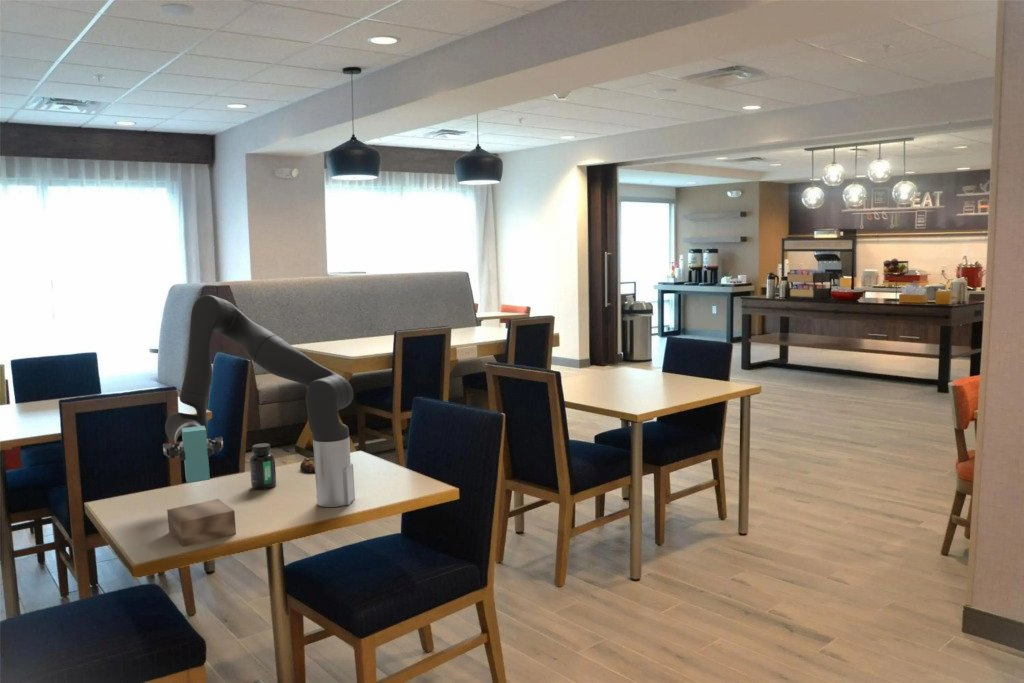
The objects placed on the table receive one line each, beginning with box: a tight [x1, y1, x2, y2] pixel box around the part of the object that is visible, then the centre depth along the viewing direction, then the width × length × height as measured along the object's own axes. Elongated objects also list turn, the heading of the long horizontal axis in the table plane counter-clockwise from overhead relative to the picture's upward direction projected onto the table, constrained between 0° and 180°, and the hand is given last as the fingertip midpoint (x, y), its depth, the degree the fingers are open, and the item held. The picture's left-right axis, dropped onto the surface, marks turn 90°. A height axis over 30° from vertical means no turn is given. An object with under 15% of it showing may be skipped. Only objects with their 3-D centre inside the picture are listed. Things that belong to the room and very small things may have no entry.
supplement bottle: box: [249, 442, 277, 491], centre depth 227 cm, size 7×7×12 cm
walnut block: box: [166, 498, 237, 547], centre depth 191 cm, size 12×12×6 cm
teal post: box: [182, 426, 211, 484], centre depth 189 cm, size 5×5×12 cm
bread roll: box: [299, 454, 315, 474], centre depth 245 cm, size 11×11×5 cm
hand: (196, 454), depth 186 cm, fingers closed on teal post, 5 cm apart
